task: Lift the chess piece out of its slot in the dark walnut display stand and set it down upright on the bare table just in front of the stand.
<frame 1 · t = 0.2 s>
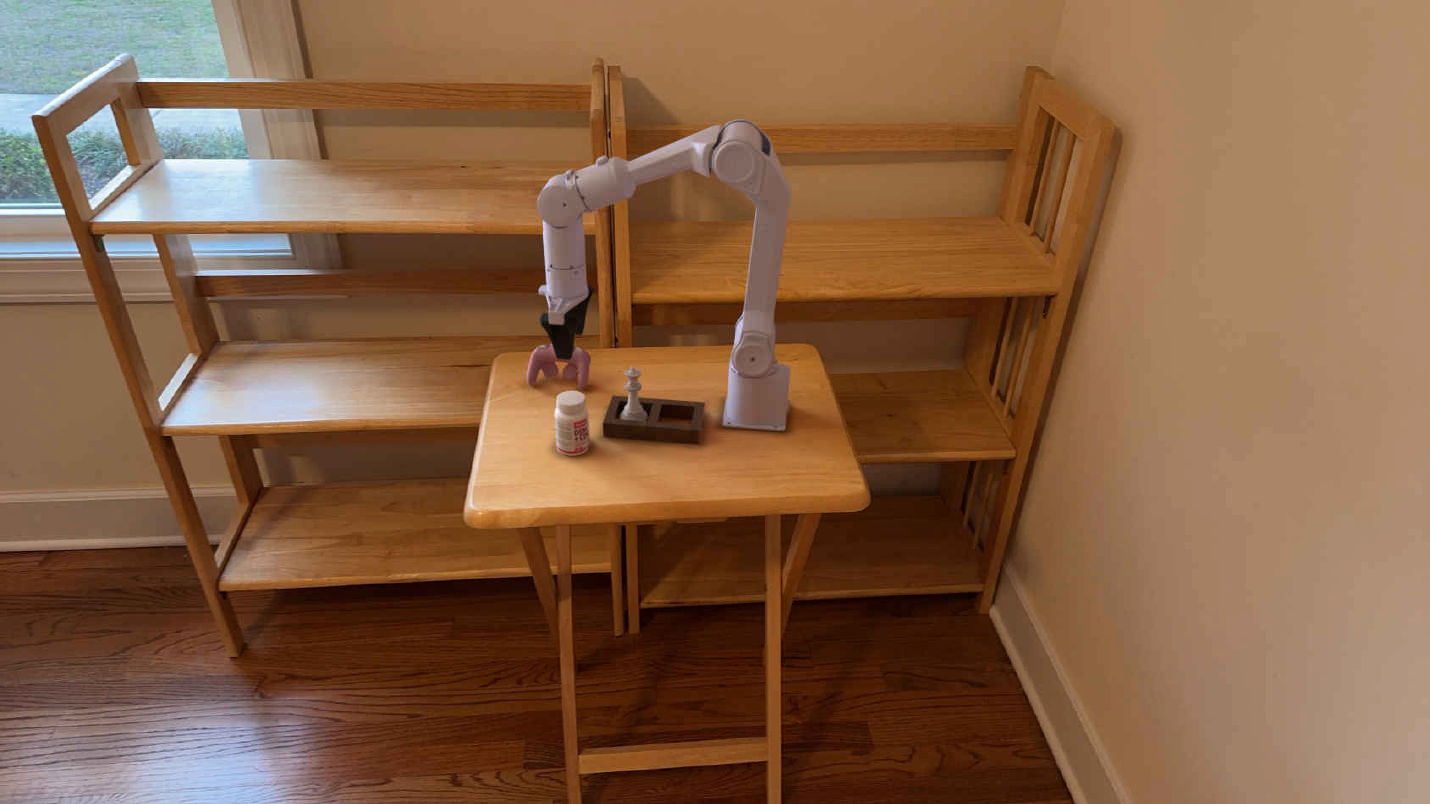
hand: (570, 345, 143), 10 cm above the table, tool pointing down, fingers open, 7 cm apart
chess piece: (633, 425, 143), resting in stand
pill bottle: (573, 448, 138), on the table
stand: (654, 426, 143), on the table
video game controller: (559, 381, 154), on the table
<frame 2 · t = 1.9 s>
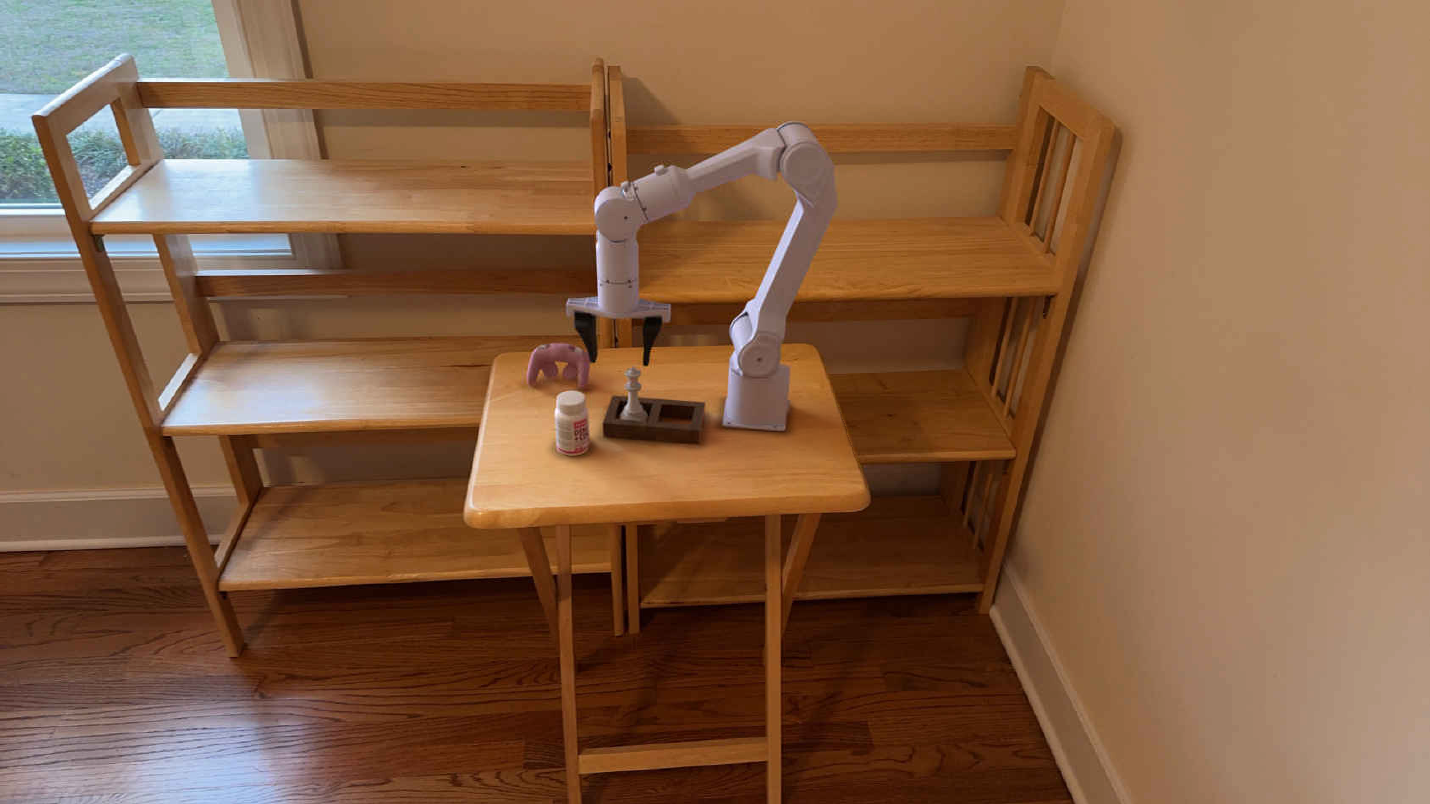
hand: (620, 361, 139), 10 cm above the table, tool pointing down, fingers open, 7 cm apart
nothing on the table moved.
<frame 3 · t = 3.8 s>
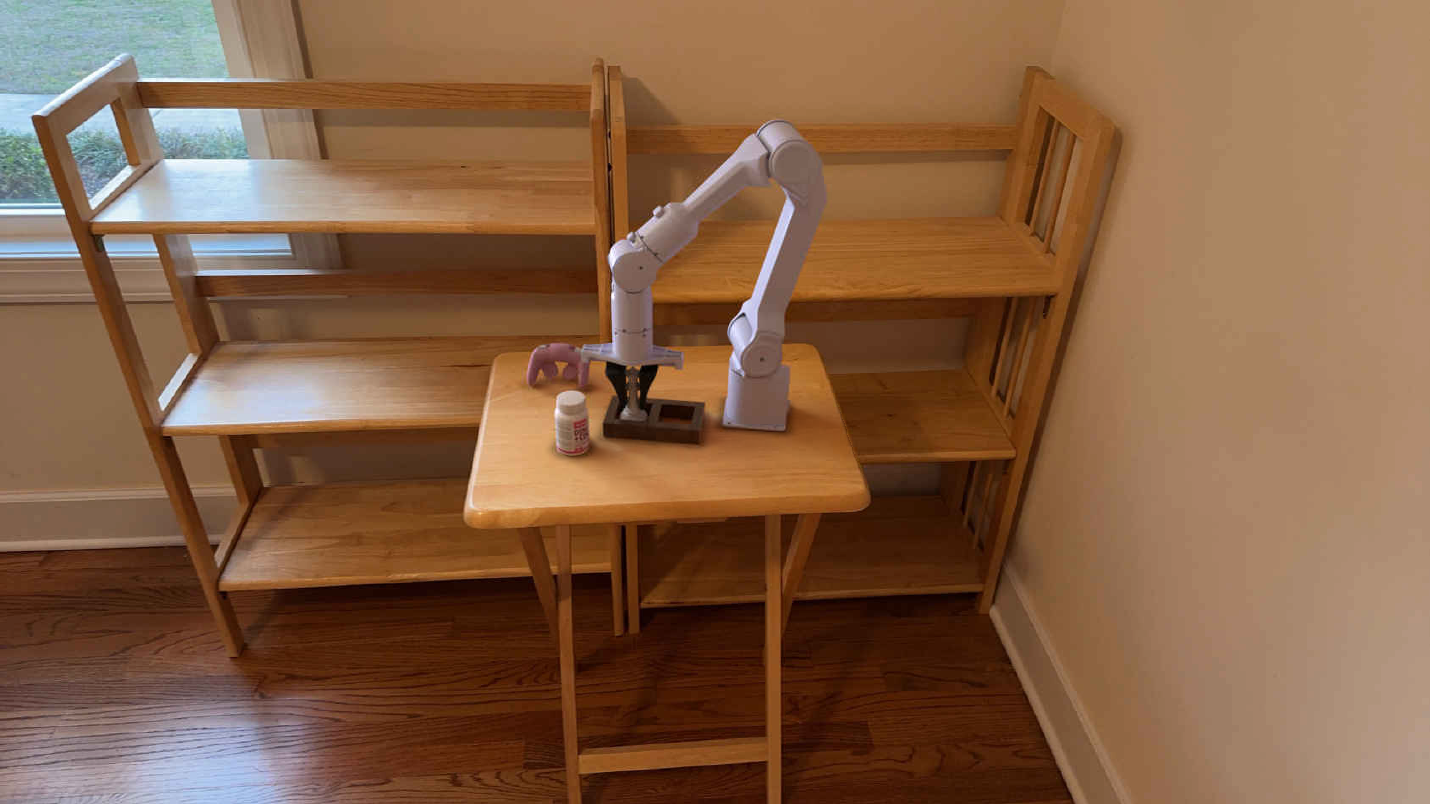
hand: (633, 405, 142), 3 cm above the table, tool pointing down, fingers closed on chess piece, 2 cm apart
chess piece: (633, 425, 143), resting in stand, touching gripper
everything else where it was.
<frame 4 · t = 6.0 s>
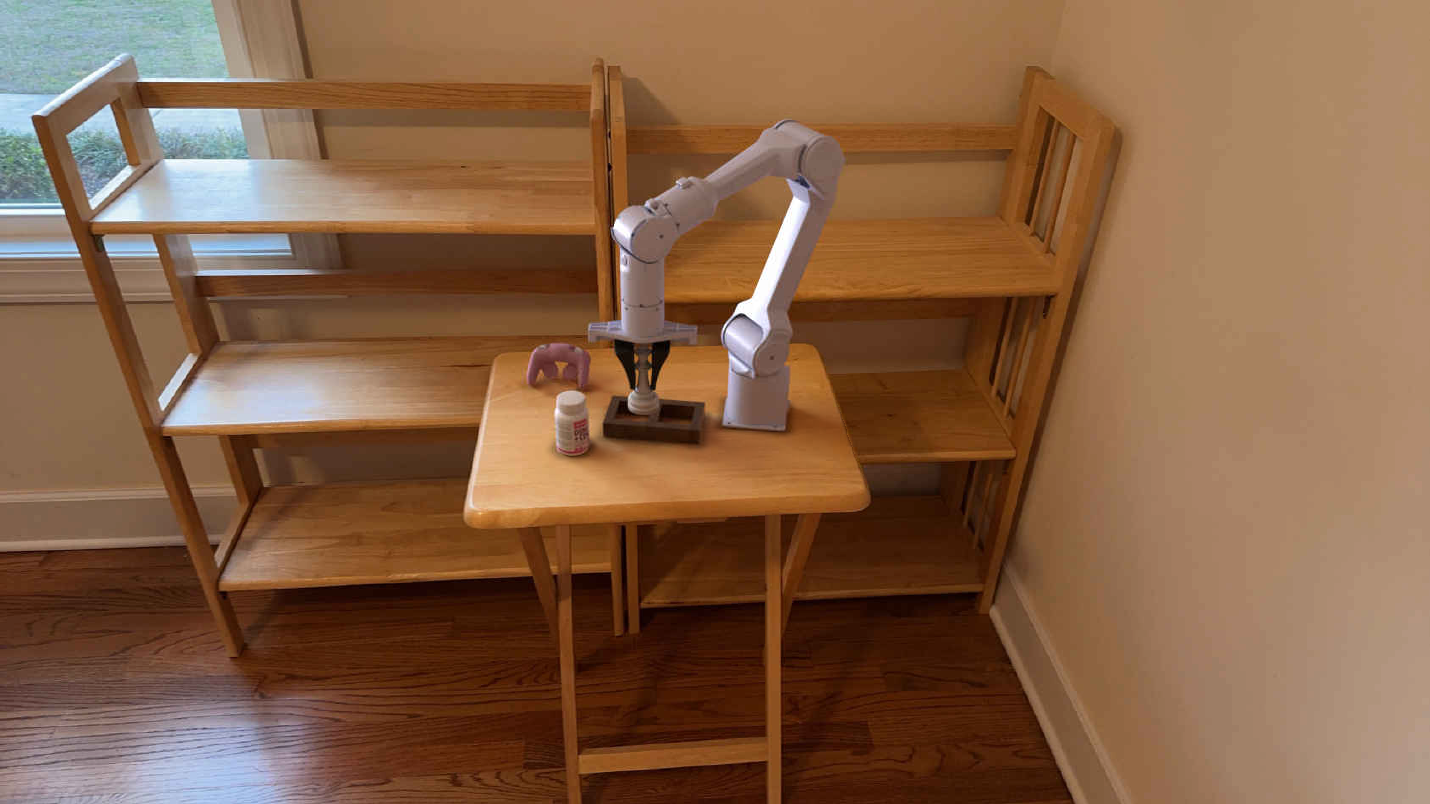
hand: (643, 386, 133), 10 cm above the table, tool pointing down, fingers closed on chess piece, 2 cm apart
chess piece: (643, 408, 135), point 7 cm above the table, touching gripper
everything else where it was.
when the fingers open (3 cm above the table, at t = 8.0 s): chess piece stays where it is, on the table.
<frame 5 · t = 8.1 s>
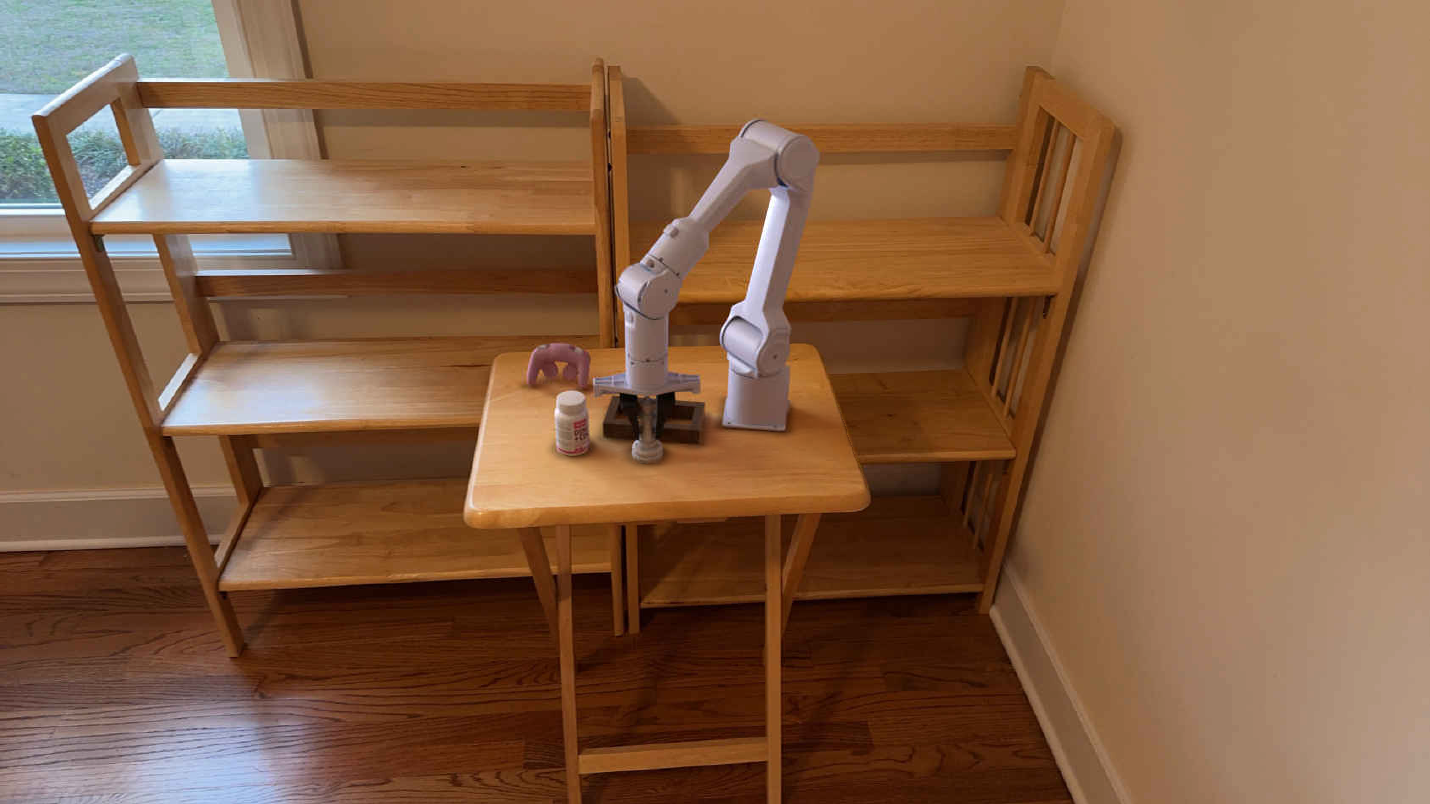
hand: (647, 435, 135), 3 cm above the table, tool pointing down
chess piece: (647, 456, 137), on the table
everything else where it was.
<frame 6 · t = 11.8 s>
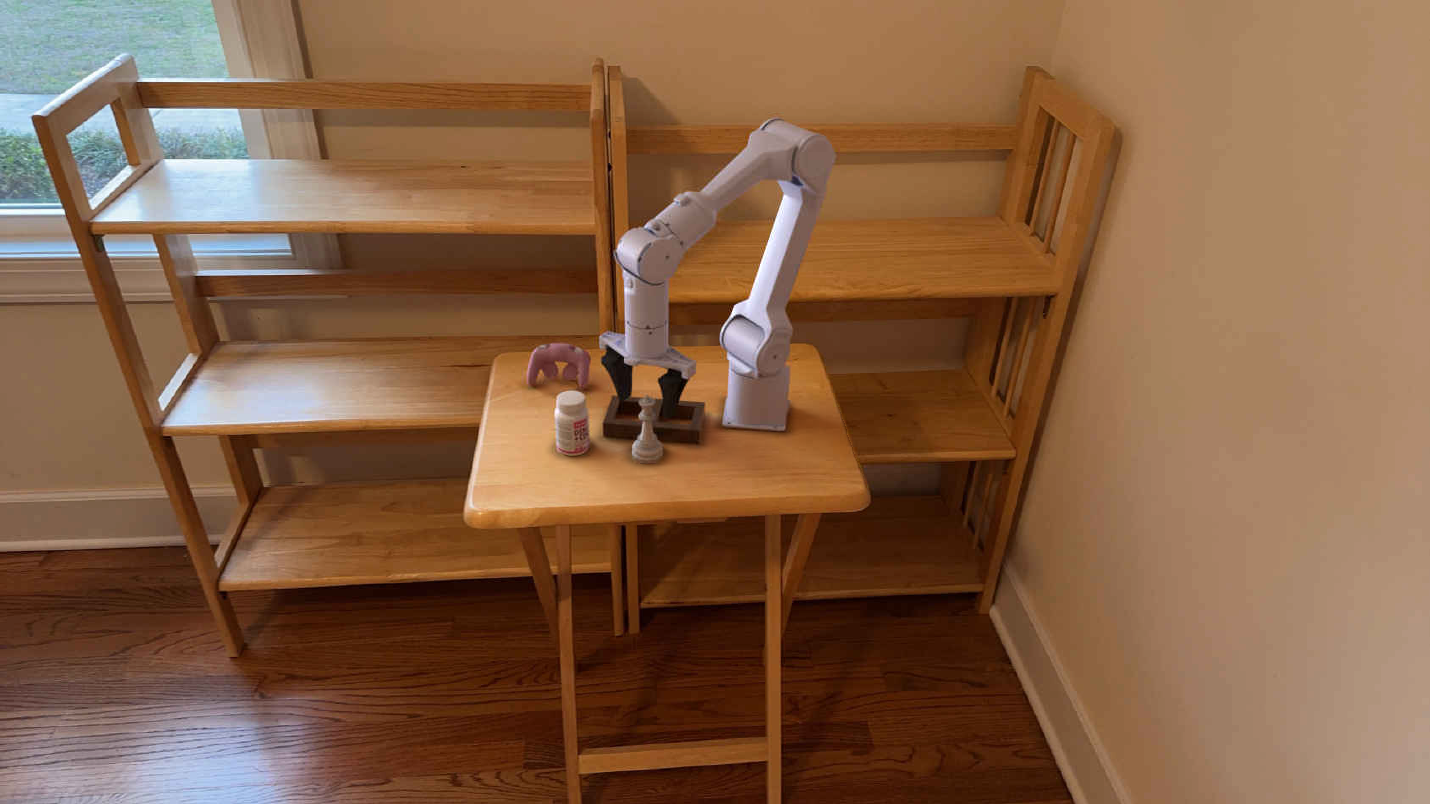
hand: (647, 406, 132), 8 cm above the table, tool pointing down, fingers open, 7 cm apart
nothing on the table moved.
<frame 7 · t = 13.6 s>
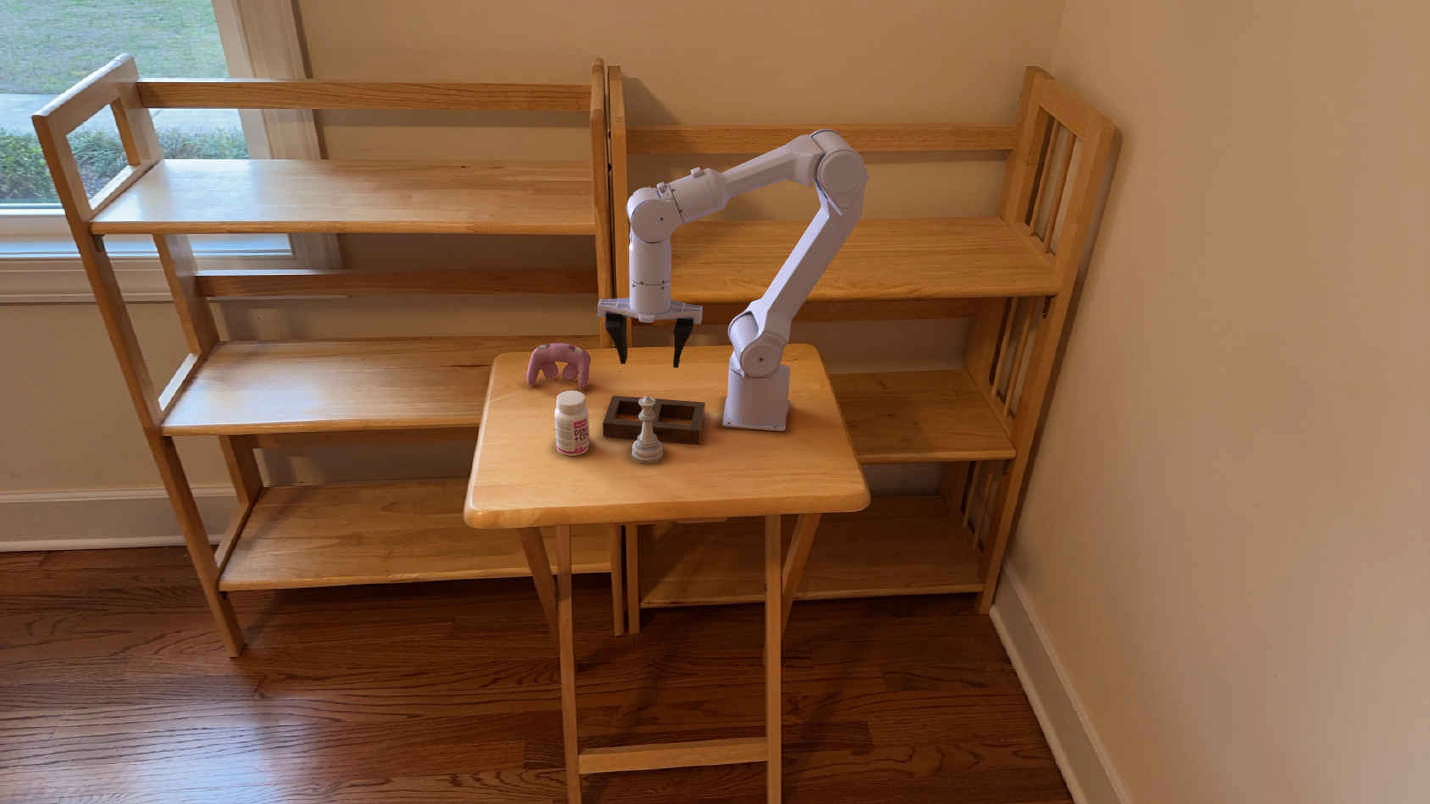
hand: (650, 362, 139), 10 cm above the table, tool pointing down, fingers open, 7 cm apart
nothing on the table moved.
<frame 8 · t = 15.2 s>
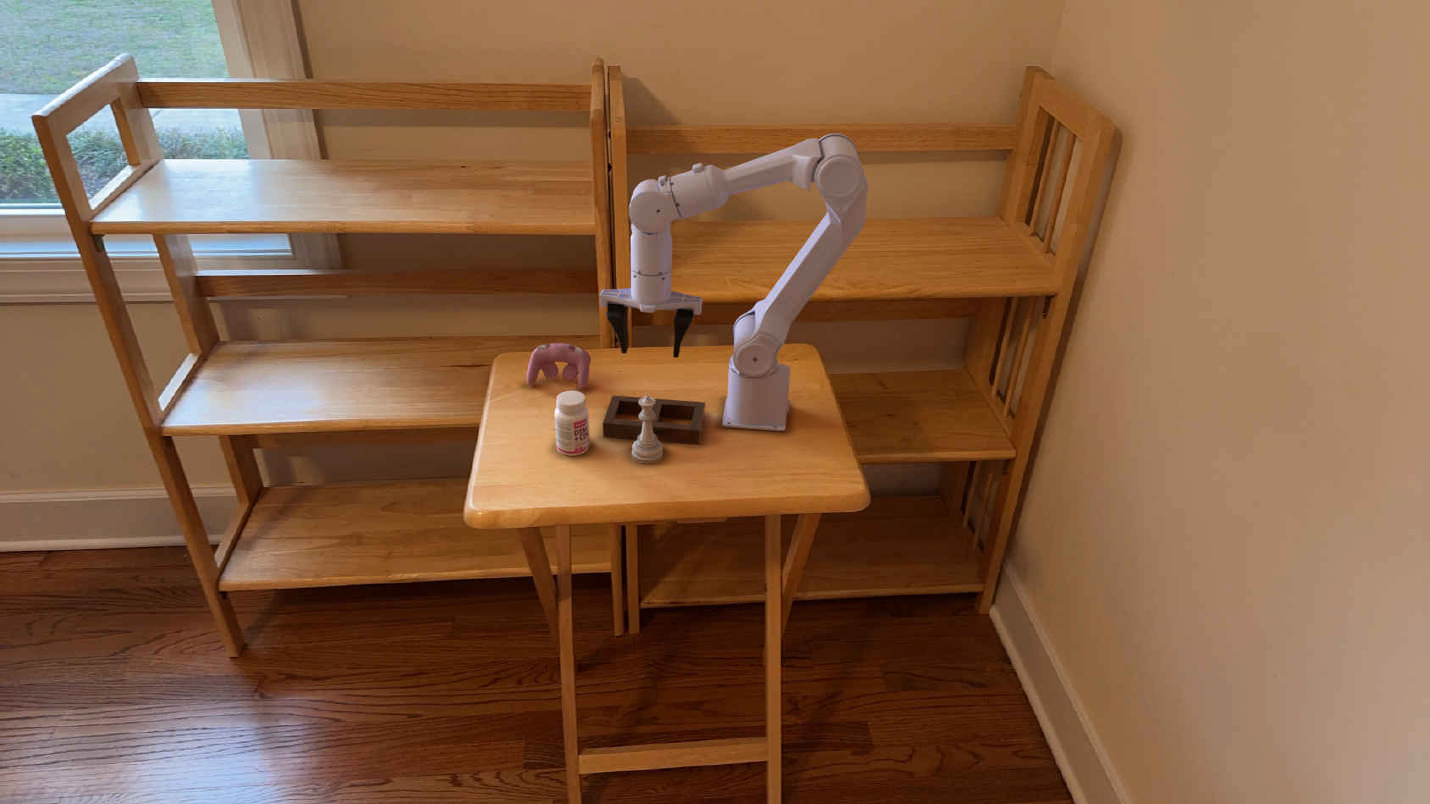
hand: (650, 352, 141), 10 cm above the table, tool pointing down, fingers open, 7 cm apart
nothing on the table moved.
at the end: chess piece inside the target area (0.2 cm from its centre), on the table; chess piece tilted 0°; the gripper is holding nothing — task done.
